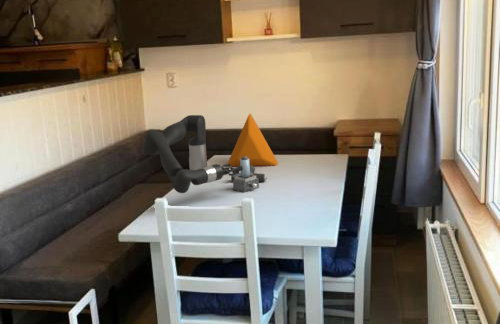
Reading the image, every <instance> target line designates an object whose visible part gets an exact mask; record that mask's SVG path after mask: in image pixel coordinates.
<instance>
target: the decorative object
mask: <svg viewBox="0 0 500 324" xmlns="http://www.w3.org/2000/svg"><path fill="white" fill-rule="evenodd" d="M243 156H247V157H248V159H249V164H250V165H252V166H254V167H263V166H264V167H266V166H267V167H268V166H269V167H270V166H278V165H279V162H278V160H277V158H276V156H275V155H274V153H273V151H272V150H271V147H270V146H269V143H268V142H267V140H266V139H265V137H264V135H263V133H262V132H261V129H260V128H259V126H258V124H257V122H256V120H255V119H254V116H253V115H252V114H251V113H249V114H248V115H247V117H246V120H245V123H244V125H243V127H242V129H241V131H240V134H239V136H238V138H237V141H236V144H235V145H234V148H233V150H232V153H231V154H230V157H229V159H228V161H227V164H230V166H231V167H239V166H240V159H242V158H241V157H243Z"/></svg>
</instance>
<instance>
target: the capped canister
mask: <svg viewBox="0 0 500 324" xmlns="http://www.w3.org/2000/svg"><path fill="white" fill-rule="evenodd" d="M241 158H242V159H240V166H242V167H243V170H242V171H239V173H241V178H248V177H250V164H249V159H248V157H247V156H243V157H241Z"/></svg>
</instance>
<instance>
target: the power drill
mask: <svg viewBox="0 0 500 324" xmlns="http://www.w3.org/2000/svg"><path fill="white" fill-rule="evenodd" d="M255 171H256V168H255V166H252V165H250V174H251V175H256V178H259V183H263V182H266V181H267V179H268V175H266V174H265V173H256V172H255ZM239 175H241V172H239V174H235V175H231V176H230V180H231V183H233V180H235V177H236V176H239Z"/></svg>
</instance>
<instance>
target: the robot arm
mask: <svg viewBox="0 0 500 324" xmlns="http://www.w3.org/2000/svg"><path fill="white" fill-rule="evenodd" d="M206 127H207V126H206V119H205V117H204V115H202V114H201V115H200V114H195V115H193V114H191V115H187V116H185V117H184V118H182V119H181V120H179V121H177V122H174V123H172V124H170V125H168V126H167V127H165V128H164V129H163V130H162V131H161V132H160V131H159V130H157V129H150V130H148V131H147V133H145V137H144V139H143V142H142V147H141V149H142V151H143V152H144V153H145V154H146V155H147V156H148V155H149V156H156V155H159V157H160V162H161V165H162V168H163V170H164V171H165V172H166V174H167V175H168V177H169V181H170V184H171V186H172V188H173V189H174V190H175V192H177V193H179V194H186V193H187V192H188V191H189V189H190V186H191V184H192V185H194V186H199V185H203V184H204V185H205V184H208V183H214V182H216V181H217V182H218V181H220V180H221V179H222V178H223V177H224V176H227V175H228V176H230V177H231V175H235V174H239V173H240V171H242V170H243V167H242V166H230V164H228V163H226V164H218V163H214V164H211V165H208V159H207V146H206V144H207V143H206V140H207V139H206V137H207V133H206ZM186 133H196V134H195V136H194V137H191V138H189V139H188V149H189V151H188V152H189V157H188V163H189V169H184V168H183V166H182V165H181V164H180V162H179V161H178V160H177V159H176V157H175V156H174V154H173V152H172V150H171V148H170V146H172V145H174V144H176V143H178V142H180V141H181V140H183V139H184V138H185V137H186Z"/></svg>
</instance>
